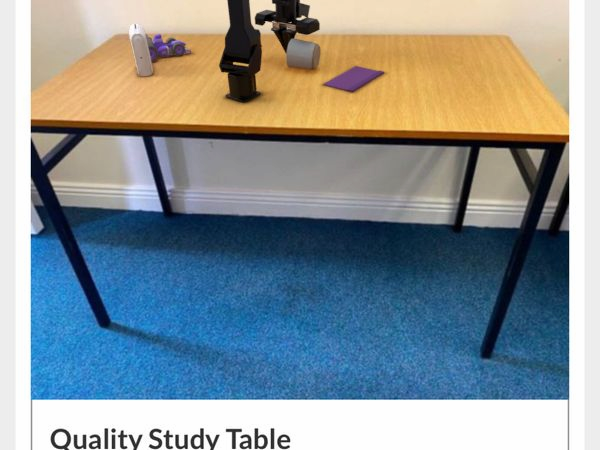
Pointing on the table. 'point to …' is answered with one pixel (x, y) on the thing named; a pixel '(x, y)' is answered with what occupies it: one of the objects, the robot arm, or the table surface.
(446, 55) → the table surface
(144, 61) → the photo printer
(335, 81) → the cloth
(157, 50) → the toy race car
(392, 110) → the table surface
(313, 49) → the ceramic mug
